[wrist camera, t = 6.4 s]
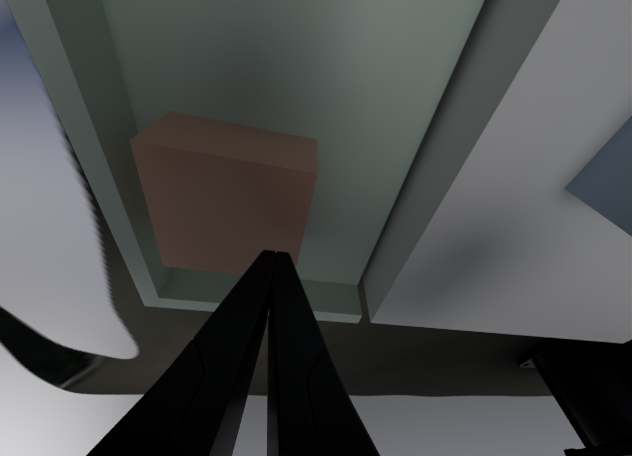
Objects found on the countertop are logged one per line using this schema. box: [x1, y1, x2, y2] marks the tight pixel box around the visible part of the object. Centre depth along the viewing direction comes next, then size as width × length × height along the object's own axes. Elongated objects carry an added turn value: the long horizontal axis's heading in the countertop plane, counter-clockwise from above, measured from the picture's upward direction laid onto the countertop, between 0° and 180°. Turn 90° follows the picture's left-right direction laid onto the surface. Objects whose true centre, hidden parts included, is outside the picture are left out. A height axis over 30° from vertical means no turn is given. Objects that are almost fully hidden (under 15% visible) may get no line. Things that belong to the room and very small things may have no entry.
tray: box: [6, 0, 484, 323], centre depth 9 cm, size 16×11×2 cm
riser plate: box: [362, 0, 632, 343], centre depth 10 cm, size 14×15×3 cm
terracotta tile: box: [130, 111, 318, 275], centre depth 10 cm, size 5×5×2 cm
